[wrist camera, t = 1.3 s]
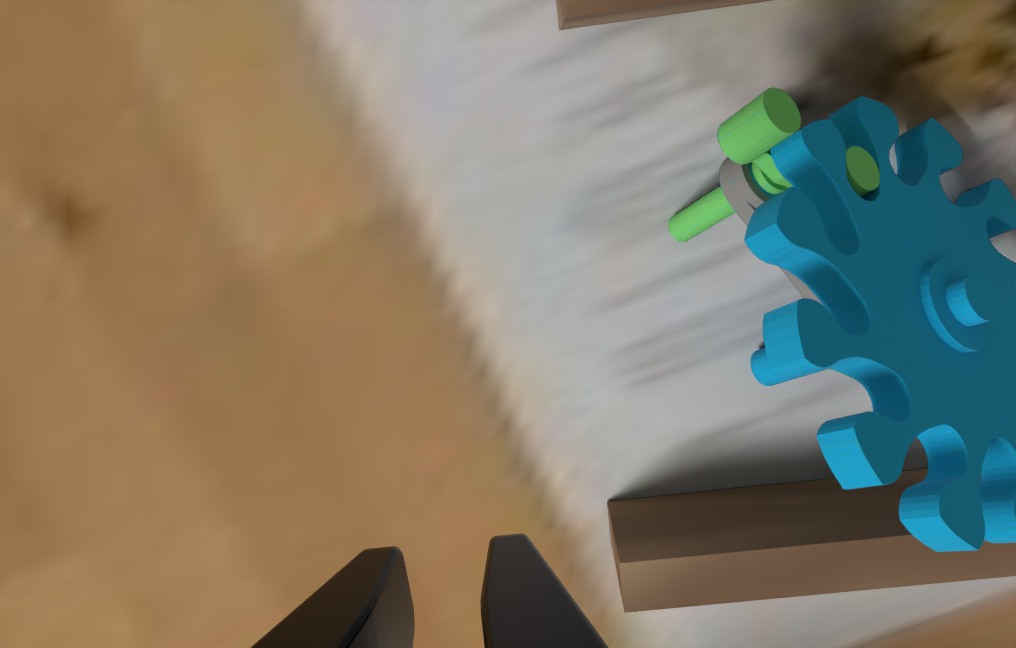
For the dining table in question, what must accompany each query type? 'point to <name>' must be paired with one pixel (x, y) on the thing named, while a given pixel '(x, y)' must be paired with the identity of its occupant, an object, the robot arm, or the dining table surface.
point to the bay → (767, 501)
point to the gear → (884, 301)
